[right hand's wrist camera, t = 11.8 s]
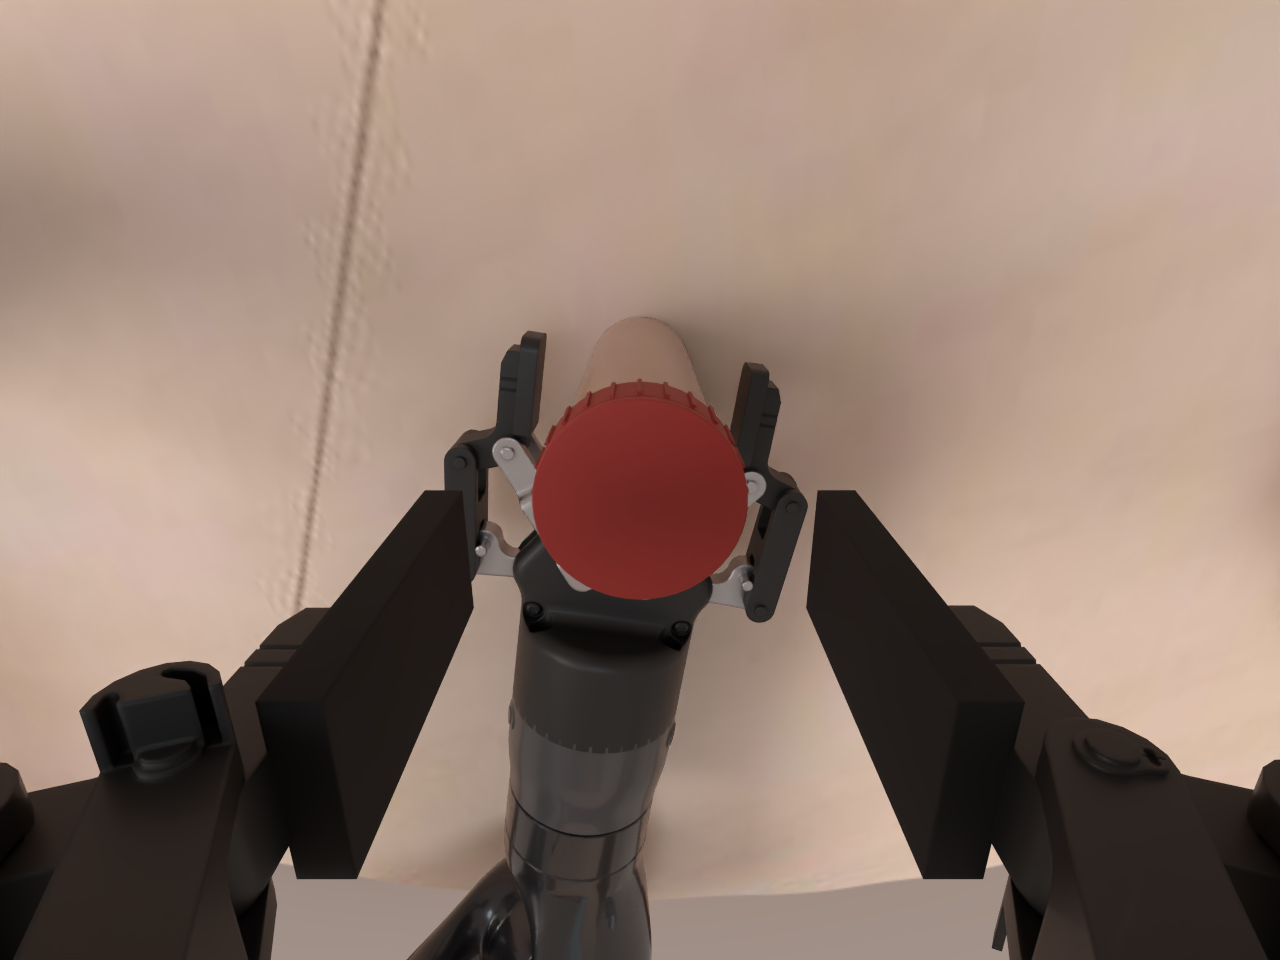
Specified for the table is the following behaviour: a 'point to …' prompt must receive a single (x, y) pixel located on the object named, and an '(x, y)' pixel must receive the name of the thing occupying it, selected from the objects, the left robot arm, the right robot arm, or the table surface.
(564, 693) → the left robot arm
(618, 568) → the lid
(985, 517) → the table surface
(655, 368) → the jar
